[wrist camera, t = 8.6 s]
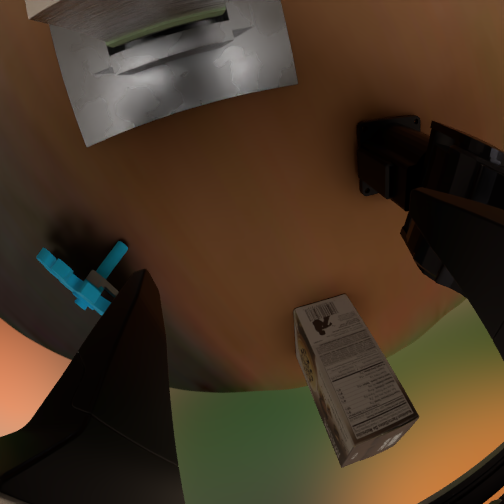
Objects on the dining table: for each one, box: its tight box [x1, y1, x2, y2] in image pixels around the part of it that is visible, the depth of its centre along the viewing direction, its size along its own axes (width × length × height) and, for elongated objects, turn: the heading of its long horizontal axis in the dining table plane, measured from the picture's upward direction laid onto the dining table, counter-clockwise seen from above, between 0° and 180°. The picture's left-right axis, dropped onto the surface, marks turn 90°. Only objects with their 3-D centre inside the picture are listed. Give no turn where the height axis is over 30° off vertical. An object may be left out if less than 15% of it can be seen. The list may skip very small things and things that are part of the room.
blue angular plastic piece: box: [37, 241, 128, 315], centre depth 21 cm, size 11×6×10 cm
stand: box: [49, 0, 298, 147], centre depth 11 cm, size 14×14×7 cm
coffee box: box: [294, 294, 419, 467], centre depth 27 cm, size 9×6×16 cm
